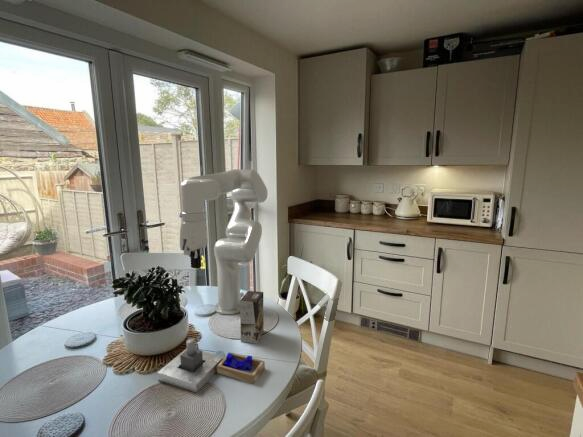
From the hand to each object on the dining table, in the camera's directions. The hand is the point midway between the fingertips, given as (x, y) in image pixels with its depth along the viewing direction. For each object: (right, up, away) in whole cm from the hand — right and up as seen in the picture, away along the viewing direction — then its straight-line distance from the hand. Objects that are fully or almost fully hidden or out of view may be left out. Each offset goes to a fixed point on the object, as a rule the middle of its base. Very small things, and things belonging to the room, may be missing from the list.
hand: (196, 267), depth 114 cm
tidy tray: (+18, -30, -13) cm, 38 cm away
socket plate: (+3, -30, -14) cm, 34 cm away
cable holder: (+17, -31, -12) cm, 37 cm away
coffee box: (+19, -27, +6) cm, 34 cm away
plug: (+3, -30, -14) cm, 33 cm away
